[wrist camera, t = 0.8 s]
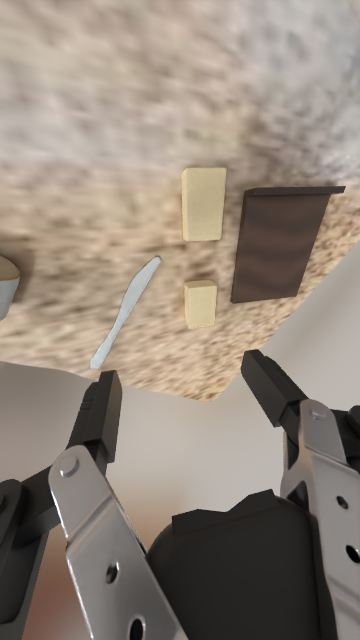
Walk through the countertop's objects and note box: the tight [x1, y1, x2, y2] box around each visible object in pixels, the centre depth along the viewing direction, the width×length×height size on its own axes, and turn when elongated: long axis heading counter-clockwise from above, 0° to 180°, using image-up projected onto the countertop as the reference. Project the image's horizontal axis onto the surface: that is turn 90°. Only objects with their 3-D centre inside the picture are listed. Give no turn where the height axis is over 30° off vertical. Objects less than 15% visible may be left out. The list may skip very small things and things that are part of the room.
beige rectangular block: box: [181, 168, 227, 242], centre depth 24 cm, size 8×5×4 cm, turn 2°
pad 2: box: [184, 280, 217, 329], centre depth 32 cm, size 8×5×4 cm, turn 2°
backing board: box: [231, 186, 346, 304], centre depth 30 cm, size 18×14×3 cm
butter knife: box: [90, 257, 161, 369], centre depth 32 cm, size 1×27×3 cm
